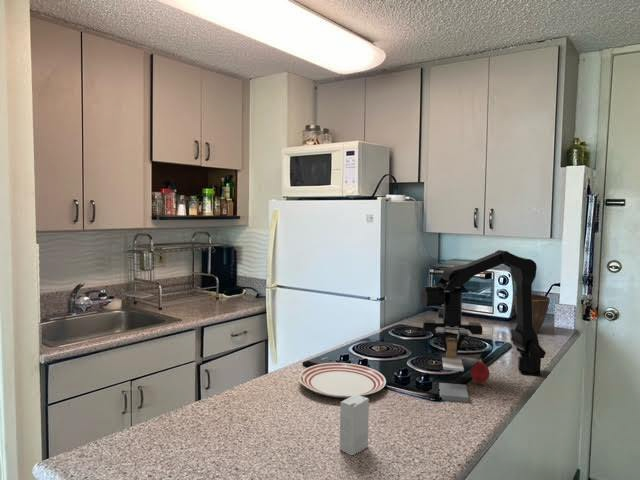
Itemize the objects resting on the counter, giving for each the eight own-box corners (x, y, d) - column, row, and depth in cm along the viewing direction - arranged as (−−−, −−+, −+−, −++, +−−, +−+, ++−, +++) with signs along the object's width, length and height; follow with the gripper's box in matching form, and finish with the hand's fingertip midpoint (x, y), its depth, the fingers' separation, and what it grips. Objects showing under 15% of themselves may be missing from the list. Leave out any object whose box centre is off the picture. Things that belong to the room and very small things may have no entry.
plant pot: (550, 330, 221) (551, 296, 220) (545, 337, 208) (547, 301, 207) (515, 325, 229) (517, 292, 228) (509, 332, 216) (510, 297, 215)
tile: (439, 382, 151) (440, 395, 141) (465, 384, 150) (468, 397, 140) (439, 388, 151) (440, 401, 142) (465, 391, 150) (468, 404, 140)
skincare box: (353, 441, 117) (354, 393, 116) (369, 447, 114) (370, 397, 113) (338, 451, 112) (338, 400, 111) (353, 458, 109) (354, 406, 108)
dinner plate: (396, 379, 158) (396, 369, 158) (369, 412, 134) (369, 400, 133) (320, 366, 170) (321, 357, 170) (282, 394, 145) (282, 384, 145)
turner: (441, 354, 163) (441, 337, 162) (459, 355, 162) (460, 338, 161) (443, 369, 148) (444, 350, 148) (463, 371, 147) (464, 352, 147)
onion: (490, 388, 151) (491, 363, 150) (471, 386, 152) (471, 362, 151) (487, 381, 157) (488, 357, 156) (469, 380, 158) (470, 356, 157)
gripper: (479, 302, 164) (477, 347, 166) (423, 299, 168) (422, 343, 169) (483, 309, 154) (481, 357, 155) (423, 306, 157) (422, 353, 159)
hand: (451, 352), depth 160 cm, fingers closed on turner, 3 cm apart
